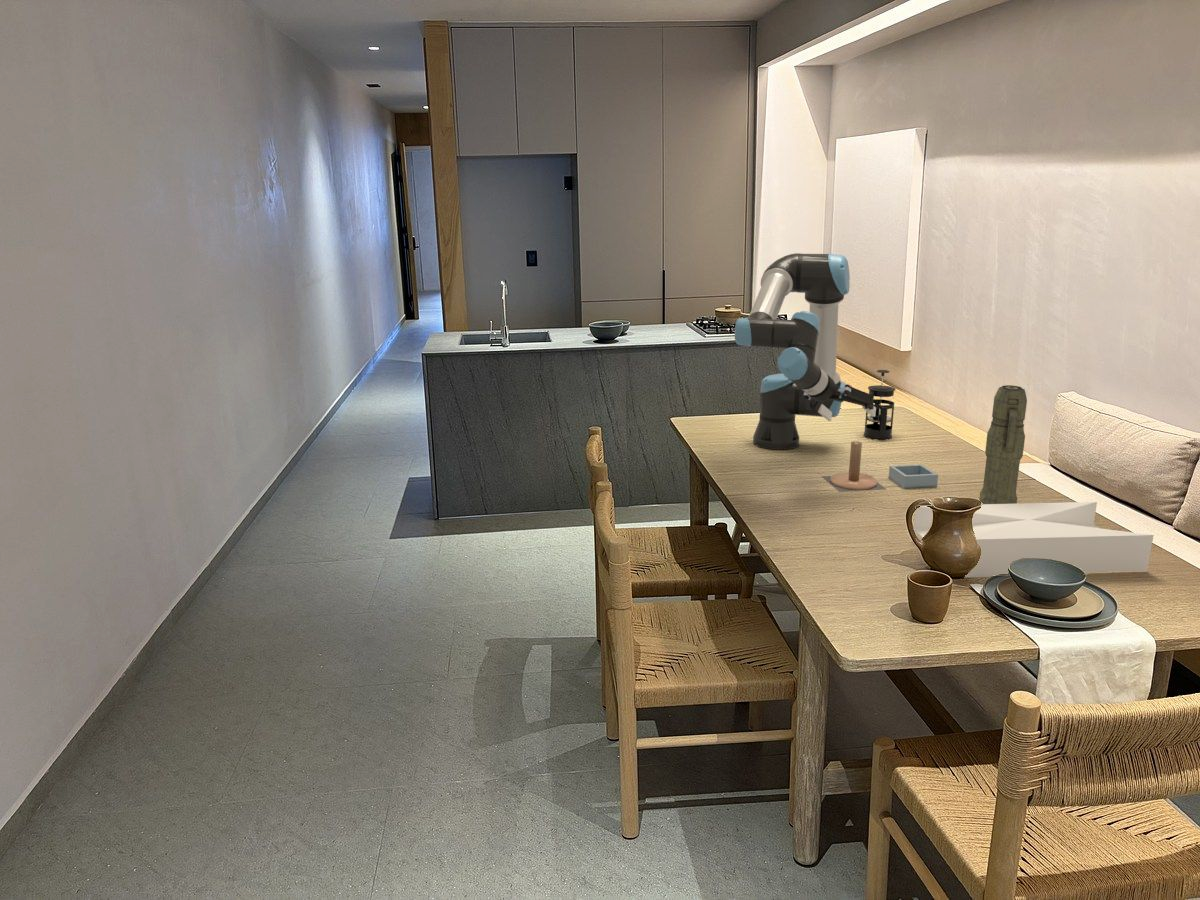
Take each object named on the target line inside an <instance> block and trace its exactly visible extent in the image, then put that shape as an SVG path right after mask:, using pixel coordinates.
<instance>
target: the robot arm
mask: <svg viewBox="0 0 1200 900" xmlns="http://www.w3.org/2000/svg"><path fill="white" fill-rule="evenodd" d="M850 287H851V283H850V268H849V261H848V259H847V257H846V256H845V255H842V254H834V253H799V252H798V253H797V252H795V253H790V254H787V255H784V256H782V257H780V258H779V259H776V260H775V261H773V263H771V264H770V265H769V266H768V267H767V268H766V269H765V270H764V272H763V274H762V276H761V278H760V290H759V292H758V294H757V297H756V298H755V301H754V303H753V306H752V308H751V309H750V312H749V315H748V317H740V318H738V319H737V320H736V322H735V325H734V341H735V343H736V344H737V345H738V346H745V347H748V348H749V347H760V348H778V349H779V348H781V349H784V350H783V351H782V352H781V353H780V356H778V359H777V368H778V369H779V371H780V372H781V373H776V374H769V375H767V376H765V377H764V378H762V380H761V382H760V383H761V384H760V391H759V393H760V397H759V399H760V401H759V421H758V423H757V426H756V428H755V431H754V434H753V436H752V437H753V440H752V443H753V445H755V446H756V445H758V446H757V447H759V446H760V447H759V448H762V447H763V449H767V448H768V449H769V450H790V449H795V448H797V447H799V446H800V436H799V435H800V434H799V431H798V428H797V425H796V416H797V415H798V416H808V417H820V418H821V417H822V418H824V419H826V420H827V421H828V422H831V421H832V418H836V417H837V416H839V414H840V410H841V407H842V403H843V402H847V403H850V404H854V405H856V406H857V405H858V406H861V407H862V409H863V410H864V411H865V412H866V411H867V412H868V415H869V416H872V417H875V413H876V407H875V406H874V405H875V403H873V400H874V399H875V396H873V395H871V394H869V392H865V391H863V390H861V389H857V388H855V387H853V386H851V385H850V384H848V383H847V384H846V383H845V382H844V381H841V375H840V374H839V373H838V372H837V352H838V347H837V346H838V325H839V323H838V322H839V320H838V319H839V304H840V303H842V301H844V299H845V296H846V295H847V294H849V292H850ZM790 293H797V294H798V293H799V294H800V293H804V300H805V301H806V302H807V303H808V304H809V310H808V311H806V310H801V311H797V312H794V313H793V314H792V316H791V318H790V319H778V316H779V313H780V311H781V308H782V306H783V304H784V301H785V298H786V297H787V296H788V295H789V294H790Z"/></svg>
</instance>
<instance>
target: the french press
mask: <svg viewBox="0 0 1200 900" xmlns="http://www.w3.org/2000/svg"><path fill="white" fill-rule="evenodd" d="M890 372H891V371H890V370H887V369H878V370H876V373H880V375H881V385H879V384H878V385H869V386H868V387H867V389H868V394H871V395H873V396H874V397H877V398H876V399H875V398H874V400H873V404H874V406H875V407H876V413H875V417H872V416H871V415H869V413H868V412H867V411H866V410H865V419H864V432H863V437H864V436H865V438H866V437H868V438H867V439H869V438H871V439H870V440H874V439H878V440H877V441H884V440H885V439H888V440H891V439H892V438H893V424H894V411H895V402H894V401H892V400H889V399H883V398H889V397H890V398H891V397H894V394H895V391H896V388H895V387H894V386H889V385H883V384H884V383H883V382H884V377H885V374H889V373H890ZM878 397H879V399H878ZM883 404H884V405H883ZM888 410H891V416H888ZM868 421H869V422H872V423H868ZM887 423H890V425H889V424H887ZM890 438H891V439H890ZM885 441H886V440H885Z"/></svg>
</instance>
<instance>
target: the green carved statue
mask: <svg viewBox="0 0 1200 900" xmlns="http://www.w3.org/2000/svg"><path fill="white" fill-rule="evenodd" d="M1027 402H1028V398H1027V393H1026V389H1025V388H1022V387H1021V386H1018V385H1013V384H1012V385H1009V384H1008V385H1007V384H1005V385H1001V386H999V387H998V389H997V391H996V392H995V395H994V397H993V406H992V411H991V412H992V414H991V417H992V420H991V422H990V427H989V428H988V431H987V434H986V435H987V436H986V441H985V450H984V451H985V456H986V457H985V458H986V459H985V468H984V469H985V470H984V477H983V484H982V488H981V491H980V492H979V499H978V500H980V501H981V502H982V503H983V504H1018V497H1017V487H1018V478H1019V471H1020V465H1021V463H1020V462H1021V460H1022V458H1023V456H1024V448H1025V440H1026V435H1025V434H1026V433H1025V430H1024V429H1025V428H1024V427H1025V424H1024V421H1025V420H1026V412H1027Z"/></svg>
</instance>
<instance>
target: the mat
mask: <svg viewBox="0 0 1200 900" xmlns="http://www.w3.org/2000/svg"><path fill="white" fill-rule="evenodd" d="M865 474H866V475H868V473H865ZM831 476H832V475H825V476H821V478H822V479H824V480H825V481H826V482H827V483H828V484H830V485H831V486H832V487H833V488H834V489H835V490H836V491H837V492H840V493H843V492H861V491H862V492H863V491H881V490H882V491H883V490H884V491H885V490H887V488H886V487H884V486H883V485H882V484H881V483H879V482H878V481H877V486H876V487H874V488H872V489H867V490H851V489H844V488H840V487H837V486H835V485H833V484H832V483H831V482H830V479H831Z"/></svg>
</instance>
